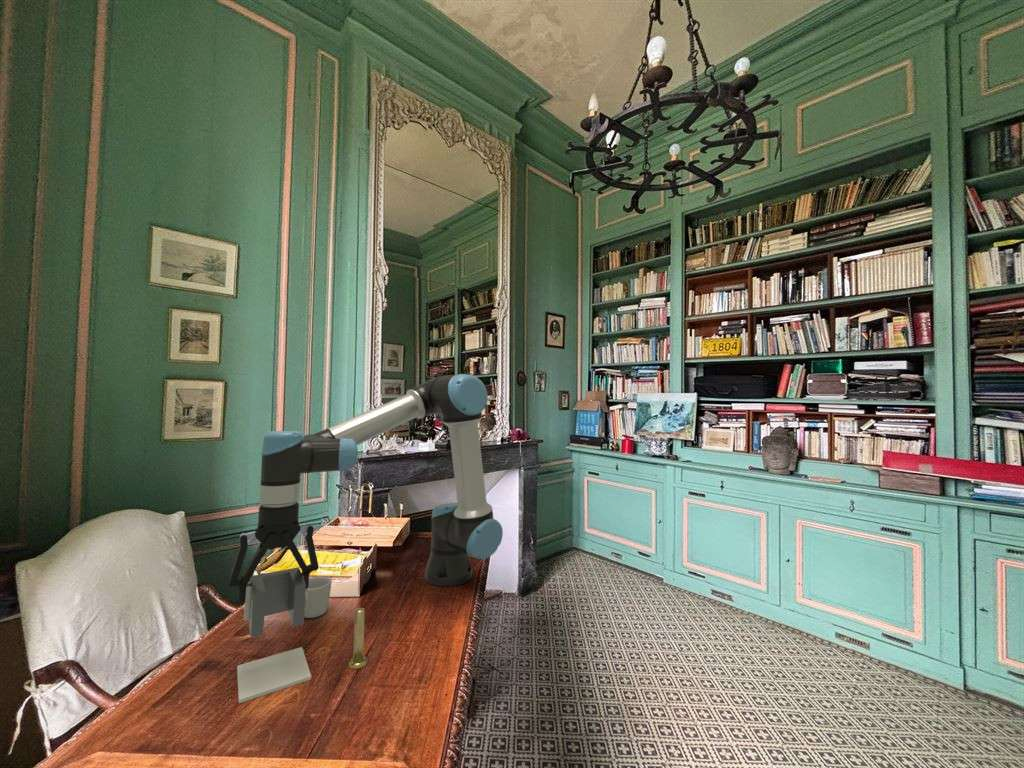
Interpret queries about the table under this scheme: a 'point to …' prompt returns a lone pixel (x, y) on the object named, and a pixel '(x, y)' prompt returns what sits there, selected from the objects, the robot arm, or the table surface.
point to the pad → (271, 674)
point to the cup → (317, 596)
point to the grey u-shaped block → (276, 598)
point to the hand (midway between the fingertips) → (273, 611)
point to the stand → (358, 641)
